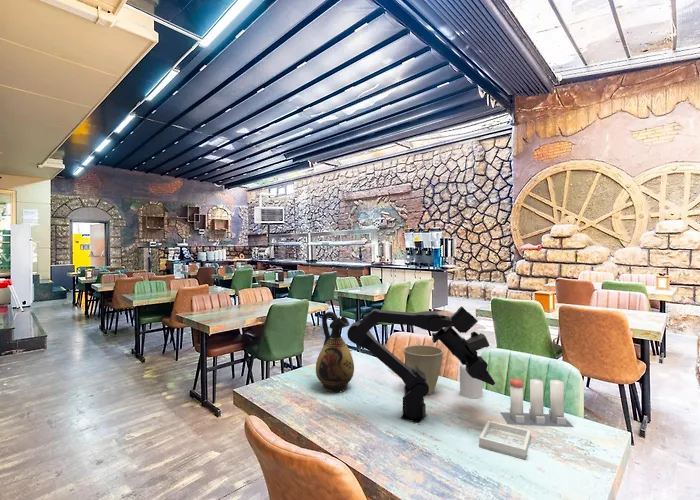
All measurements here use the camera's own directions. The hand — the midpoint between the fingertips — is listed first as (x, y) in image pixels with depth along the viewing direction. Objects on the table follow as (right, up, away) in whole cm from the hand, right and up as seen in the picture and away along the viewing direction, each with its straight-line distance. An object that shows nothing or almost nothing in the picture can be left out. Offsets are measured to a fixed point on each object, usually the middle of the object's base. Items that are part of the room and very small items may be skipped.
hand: (489, 378), depth 112 cm
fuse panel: (+14, -13, -2) cm, 19 cm away
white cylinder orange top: (+8, -12, -1) cm, 15 cm away
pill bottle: (0, -14, +18) cm, 23 cm away
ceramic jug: (-51, -14, +29) cm, 60 cm away
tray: (-1, -13, -13) cm, 19 cm away
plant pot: (-16, -14, +24) cm, 32 cm away
